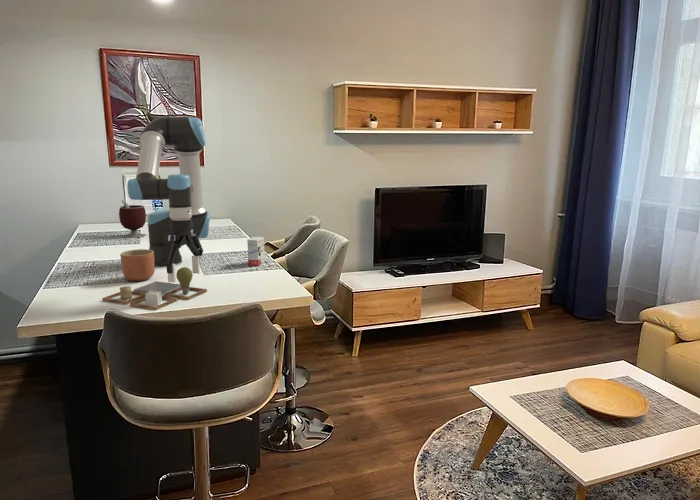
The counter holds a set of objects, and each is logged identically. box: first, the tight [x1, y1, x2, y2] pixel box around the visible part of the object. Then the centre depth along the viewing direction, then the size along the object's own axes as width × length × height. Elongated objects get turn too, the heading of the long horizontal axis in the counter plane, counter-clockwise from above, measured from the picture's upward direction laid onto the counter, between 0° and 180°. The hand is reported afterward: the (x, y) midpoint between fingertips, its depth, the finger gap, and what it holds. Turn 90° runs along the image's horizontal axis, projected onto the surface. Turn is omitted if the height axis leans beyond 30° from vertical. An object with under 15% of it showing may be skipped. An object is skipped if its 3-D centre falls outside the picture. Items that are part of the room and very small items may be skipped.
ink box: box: [247, 236, 266, 267], centre depth 235 cm, size 9×5×12 cm, turn 168°
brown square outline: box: [163, 286, 208, 301], centre depth 190 cm, size 11×11×1 cm
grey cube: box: [145, 291, 163, 306], centre depth 179 cm, size 4×4×4 cm
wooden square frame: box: [101, 290, 146, 305], centre depth 185 cm, size 11×11×1 cm
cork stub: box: [119, 285, 133, 301], centre depth 184 cm, size 4×4×4 cm
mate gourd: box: [118, 200, 147, 239], centre depth 296 cm, size 16×14×20 cm
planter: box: [120, 248, 156, 282], centre depth 208 cm, size 12×12×11 cm
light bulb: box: [175, 266, 194, 295], centre depth 189 cm, size 6×6×10 cm
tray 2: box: [129, 295, 178, 311], centre depth 179 cm, size 11×11×1 cm
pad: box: [133, 280, 181, 295], centre depth 197 cm, size 12×12×1 cm
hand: (184, 277), depth 189 cm, fingers open, 13 cm apart
